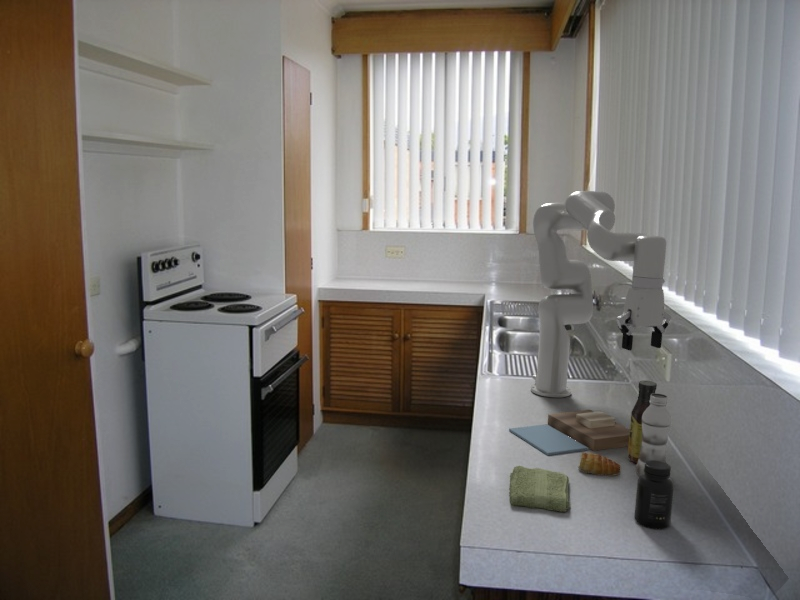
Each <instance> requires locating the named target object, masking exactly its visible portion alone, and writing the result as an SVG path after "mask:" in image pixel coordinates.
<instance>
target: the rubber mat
mask: <svg viewBox="0 0 800 600" xmlns="http://www.w3.org/2000/svg"><path fill="white" fill-rule="evenodd" d="M508 432H510V433H512V434H513V435H515V436H516V435H517V436H516V437H518V438H520V439H521V438H522V439H521V440H523V441H524V440H525V441H524V442H526V443H527V442H528V443H527V444H529V445H531V446H532V447H534V448H535V449H537V450H539V451H540V452H542V453H543V454H544V455H546V456H553V455H560V454H561V455H562V454H567V453H575V452H576V453H577V452H584V451H588V450H589V448H588V447H586V446H584V445H583V444H581V443H579V442H577V441H575V440H574V439H572V438H570V437H568V436H567V435H565V434H563V433H561V432H560V431H558V430H556V429H554V428H553V427H551V426H549V425H548V423H547V424H537V425H528V426H520V427H511V428H510V427H509V428H508Z"/></svg>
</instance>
